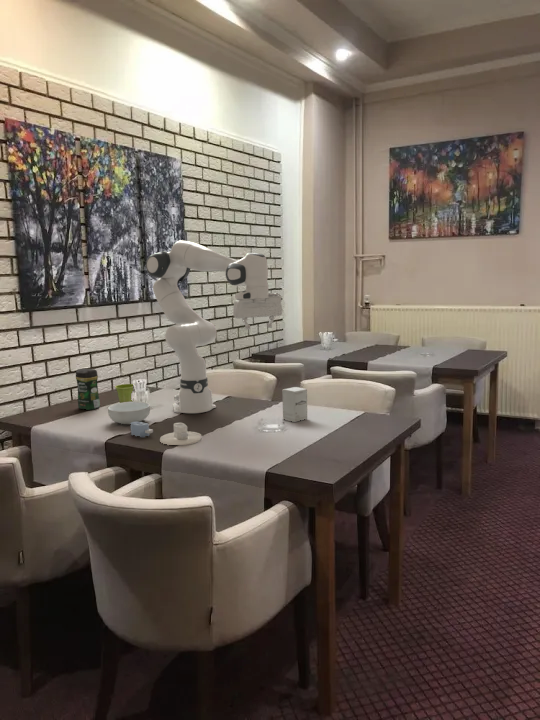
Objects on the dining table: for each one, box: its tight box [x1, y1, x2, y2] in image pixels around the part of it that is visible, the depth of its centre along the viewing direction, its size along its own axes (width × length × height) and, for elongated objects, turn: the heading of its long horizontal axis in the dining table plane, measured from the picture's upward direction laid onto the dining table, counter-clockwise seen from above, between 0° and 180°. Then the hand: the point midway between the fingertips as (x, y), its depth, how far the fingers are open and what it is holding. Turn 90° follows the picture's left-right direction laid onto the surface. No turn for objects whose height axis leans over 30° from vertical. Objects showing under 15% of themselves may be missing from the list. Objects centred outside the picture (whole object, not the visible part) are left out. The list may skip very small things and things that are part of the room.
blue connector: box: [130, 421, 154, 438], centre depth 218 cm, size 10×4×4 cm, turn 54°
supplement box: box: [281, 386, 308, 423], centre depth 234 cm, size 7×7×13 cm
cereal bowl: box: [107, 400, 151, 425], centre depth 238 cm, size 17×17×7 cm
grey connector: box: [173, 422, 188, 440], centre depth 210 cm, size 10×4×4 cm, turn 24°
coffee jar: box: [75, 367, 101, 411], centre depth 265 cm, size 10×8×19 cm
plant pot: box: [114, 383, 134, 403], centre depth 272 cm, size 9×9×9 cm
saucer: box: [159, 430, 202, 446], centre depth 211 cm, size 15×15×1 cm
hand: (258, 328), depth 233 cm, fingers open, 8 cm apart
